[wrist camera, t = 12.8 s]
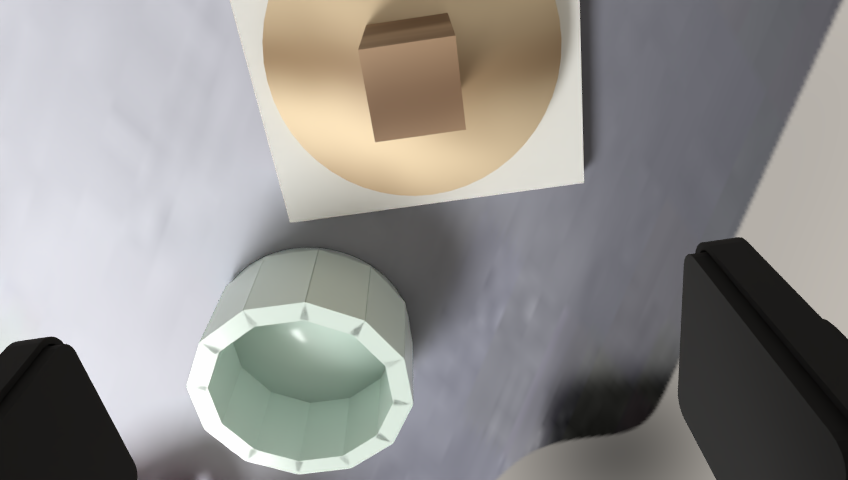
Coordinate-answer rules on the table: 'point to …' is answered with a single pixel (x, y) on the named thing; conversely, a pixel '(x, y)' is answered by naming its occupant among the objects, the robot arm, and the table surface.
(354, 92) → the lid
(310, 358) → the bowl
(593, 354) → the table surface
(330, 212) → the mat
